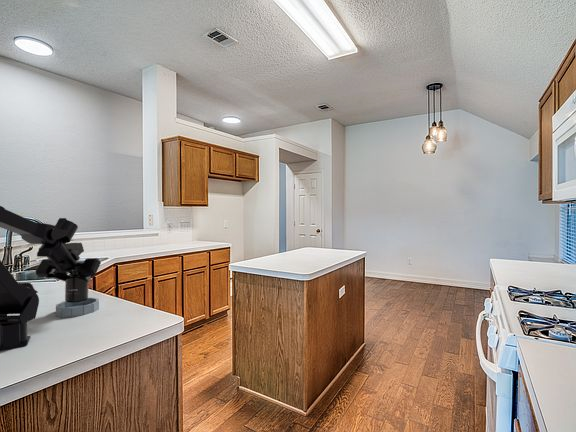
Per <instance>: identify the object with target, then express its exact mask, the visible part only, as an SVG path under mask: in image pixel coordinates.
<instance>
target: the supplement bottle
mask: <svg viewBox="0 0 576 432" xmlns="http://www.w3.org/2000/svg"><path fill="white" fill-rule="evenodd" d="M68 273H69V274H67V276H66V281H64V283H65V286H64V289H65V290H64V291H65V294H64V300H65V301H66V302H69V303H75V302H82V301H85V300H87V299H88V298H89V282H88V281H86V280H84V279H82V278H80V277H79V276H80V274H81V273H80V269H74V270H73V271H71V272H68Z"/></svg>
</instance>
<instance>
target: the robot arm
mask: <svg viewBox="0 0 576 432" xmlns="http://www.w3.org/2000/svg"><path fill="white" fill-rule="evenodd" d="M0 228H1V229H3V230H6V231H9V232H12V233H14V234H15V233H16V234H17V235H19V236H20V237H21V240H23V241H24V242H26V243H28V244H30V245H40V246H39V248H38V251H37V252H36V257H38V258H39V257H41V258H44V259H42V260H41V261H40V263H39V264H38V266H37V267H36V269H35V275H36V276H37V277H38V278H46V279H51V280H52V279H54V280H57V281H62V282H65V281H66V276H67V275H68V273H69V272H71V271H73V270H74V269H80V273H81V274H80V276H79V277H80V278H82V279H84V280H86V281H88V283H90V282H91V281H92V277H94V276H95V275H97V272H98V271H99V268H100V266H101V263H102V262H101V261H100V259H99V258H98V257H96V258H95V257H93V258H91V257H89V258H85V260H84V261H79V260H80V259H81V258H80V255H81V254H82V253H84V251H85V249H84V246H83V243H82V242H71V241H72V238H74V236H75V234H76V232H77V230H78V228H79V227H78V224H76V223H74V222H73V221H71V220H68V219H67V218H66V217H64V218H63V217H59V218H58V220H57V221H56V223H55V225H54V224H50V223H44V222H43V223H42V222H37V221H33V220H30V219H29V218H26V217H24V216H22V215H19V214H17V213H15V212H13V211H11V210H8V209H6V208H5V207H3V206H1V205H0ZM77 261H79V262H77ZM38 292H39V291H38V290H36V289H35V287H34V285H33V283H31V282H18V281H17V280H16V278H15V277H14V276H13V275H12V274H11V272H10V271H9V269H8V268H7V267H6V265H5V264H4V262H2V260H1V259H0V351H3V350H8V349H15V348H20V347H25V346H28V345H29V342H30V339H31V335H28V323H29V322H31V321H32V320H34V319H36V318H37V314H38V313H37V312H38V309H39V306H40V305H39V304H40V298H39V295H38Z"/></svg>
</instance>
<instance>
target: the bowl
mask: <svg viewBox="0 0 576 432" xmlns="http://www.w3.org/2000/svg"><path fill="white" fill-rule="evenodd" d="M99 309H100V299H99V298H98V297H88V299H87V300H85V301H82V302H75V303H69V302H66V301H64V300H63V301H61V302H59V303H57V304H56V305H55V316H56V317H59V318H73V317H79V316H80V317H81V316H85V315H88V314H93V313H95V312H96V311H98V310H99Z"/></svg>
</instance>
